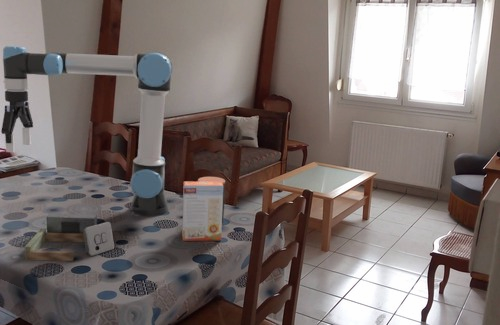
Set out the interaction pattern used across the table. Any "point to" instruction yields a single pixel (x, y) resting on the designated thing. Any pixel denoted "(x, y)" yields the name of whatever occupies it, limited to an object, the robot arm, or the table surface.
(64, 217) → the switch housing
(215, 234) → the cracker box
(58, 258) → the bay
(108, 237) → the electrical switch
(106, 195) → the table surface
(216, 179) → the coffee jar
